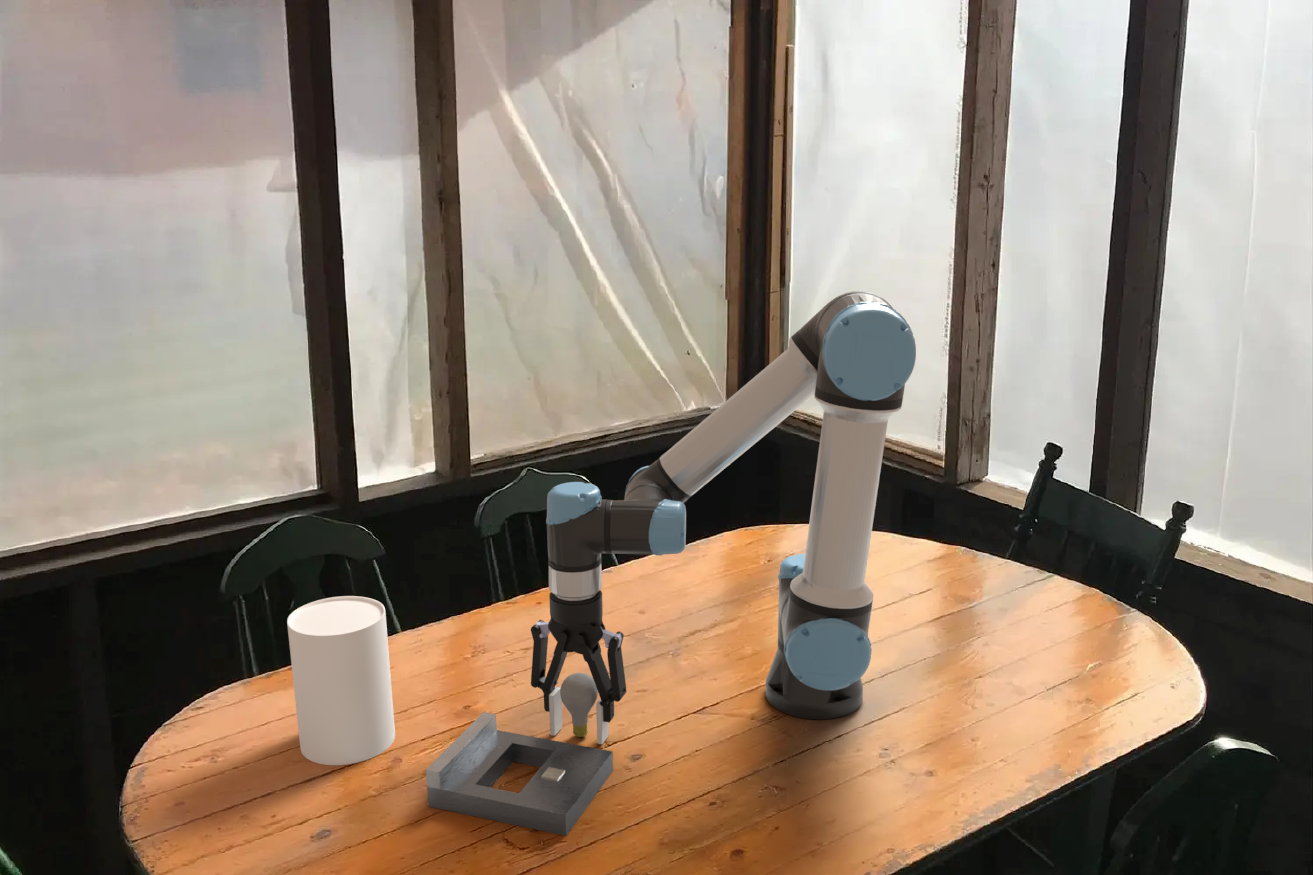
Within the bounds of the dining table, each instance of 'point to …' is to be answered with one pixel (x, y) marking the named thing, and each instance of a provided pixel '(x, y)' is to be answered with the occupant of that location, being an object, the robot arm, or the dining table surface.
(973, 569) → the dining table surface
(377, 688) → the canister
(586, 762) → the rail plate
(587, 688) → the light bulb
